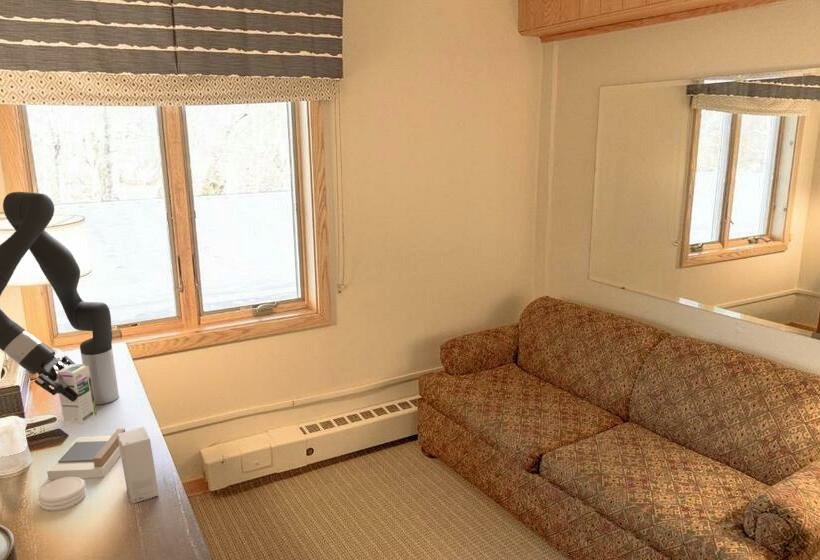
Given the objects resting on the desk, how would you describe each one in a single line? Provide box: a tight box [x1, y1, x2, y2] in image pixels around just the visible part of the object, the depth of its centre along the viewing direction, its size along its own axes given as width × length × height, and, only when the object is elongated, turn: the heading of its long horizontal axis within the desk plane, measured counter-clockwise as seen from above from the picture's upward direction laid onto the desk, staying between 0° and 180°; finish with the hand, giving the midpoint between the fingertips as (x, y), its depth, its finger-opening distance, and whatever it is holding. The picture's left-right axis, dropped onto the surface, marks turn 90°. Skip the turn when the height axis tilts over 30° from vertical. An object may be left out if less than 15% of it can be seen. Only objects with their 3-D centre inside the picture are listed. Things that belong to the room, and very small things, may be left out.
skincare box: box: [117, 426, 160, 504], centre depth 155 cm, size 8×7×16 cm
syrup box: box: [58, 363, 98, 425], centre depth 167 cm, size 6×6×14 cm
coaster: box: [38, 477, 87, 512], centre depth 154 cm, size 10×10×4 cm
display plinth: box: [46, 428, 126, 481], centre depth 172 cm, size 18×14×5 cm
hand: (82, 392), depth 167 cm, fingers closed on syrup box, 6 cm apart
